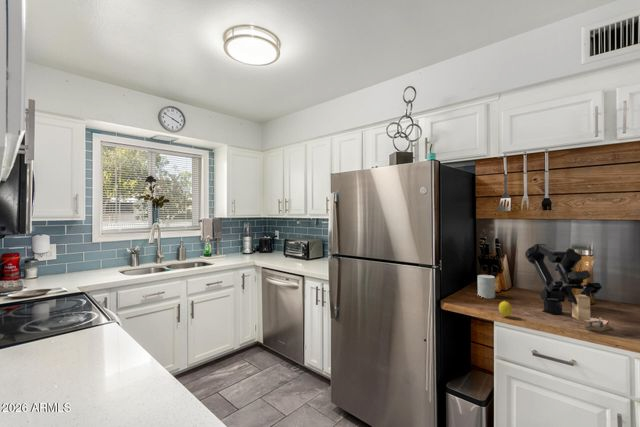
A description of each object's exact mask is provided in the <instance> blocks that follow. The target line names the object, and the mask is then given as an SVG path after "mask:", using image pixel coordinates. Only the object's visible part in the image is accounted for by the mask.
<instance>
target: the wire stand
mask: <svg viewBox="0 0 640 427" xmlns="http://www.w3.org/2000/svg"><path fill="white" fill-rule="evenodd" d="M598 319H599V321H589V322H588V324H585V325H584V328H585V329H589V330H592V331H596V332H603V331H606V330H610V329H612V326H611V325H609V324H603V322H602V320H603V319H602V317H598Z"/></svg>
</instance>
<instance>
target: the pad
mask: <svg viewBox="0 0 640 427" xmlns="http://www.w3.org/2000/svg"><path fill="white" fill-rule="evenodd" d="M590 321H599V318H596V317H591V316H590ZM584 322H588V323H589V321H588V320H584ZM602 322H603V324H606V325H608V322H609V320H605V319H602Z"/></svg>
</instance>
